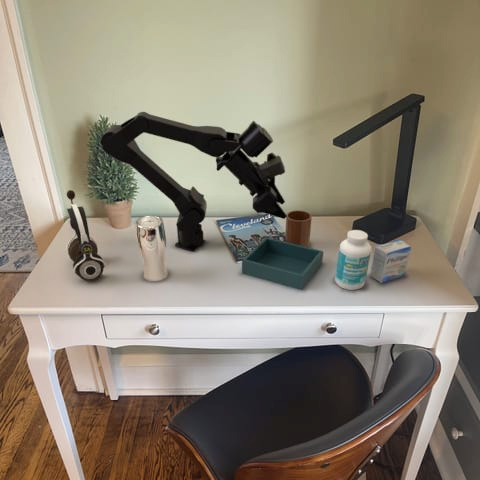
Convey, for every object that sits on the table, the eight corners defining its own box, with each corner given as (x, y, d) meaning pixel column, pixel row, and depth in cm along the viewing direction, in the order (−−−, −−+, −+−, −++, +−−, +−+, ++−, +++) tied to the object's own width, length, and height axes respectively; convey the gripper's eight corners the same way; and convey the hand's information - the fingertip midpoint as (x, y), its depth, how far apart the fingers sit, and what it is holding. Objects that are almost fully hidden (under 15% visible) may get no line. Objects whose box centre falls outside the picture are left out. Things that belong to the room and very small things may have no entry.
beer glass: (173, 270, 129) (168, 217, 120) (161, 284, 123) (155, 229, 114) (149, 266, 130) (143, 213, 121) (137, 279, 125) (129, 225, 116)
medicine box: (380, 284, 123) (387, 253, 118) (369, 275, 126) (374, 245, 121) (405, 276, 126) (412, 246, 121) (393, 268, 129) (399, 238, 124)
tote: (241, 273, 127) (241, 260, 125) (265, 250, 137) (266, 237, 135) (301, 290, 121) (302, 276, 119) (322, 264, 131) (323, 250, 129)
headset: (68, 257, 134) (51, 186, 122) (97, 252, 137) (83, 182, 125) (78, 289, 122) (61, 214, 110) (110, 282, 124) (96, 208, 112)
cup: (284, 250, 137) (286, 220, 132) (284, 239, 142) (286, 210, 137) (309, 251, 137) (312, 221, 131) (308, 239, 142) (311, 210, 137)
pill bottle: (339, 292, 120) (347, 243, 112) (330, 276, 126) (337, 228, 118) (369, 289, 121) (378, 240, 113) (358, 274, 127) (367, 226, 119)
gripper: (268, 159, 116) (311, 204, 122) (266, 135, 131) (304, 176, 137) (234, 191, 121) (277, 233, 127) (236, 164, 136) (274, 203, 142)
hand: (284, 210), depth 133 cm, fingers open, 9 cm apart
